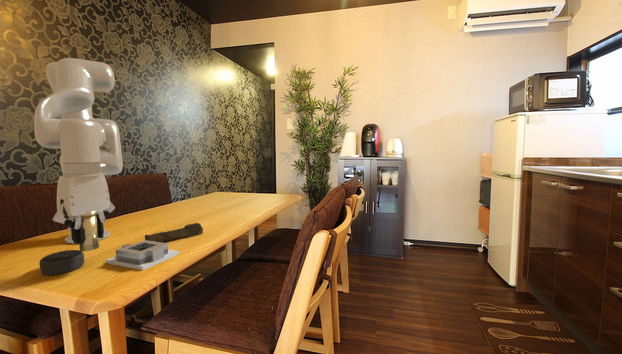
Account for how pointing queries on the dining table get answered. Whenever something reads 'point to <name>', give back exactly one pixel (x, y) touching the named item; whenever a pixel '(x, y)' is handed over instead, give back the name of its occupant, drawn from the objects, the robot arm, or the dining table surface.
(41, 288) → the dining table surface
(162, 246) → the grey holder fixture
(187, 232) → the hand tool
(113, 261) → the board
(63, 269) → the smart speaker
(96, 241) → the brass pin
